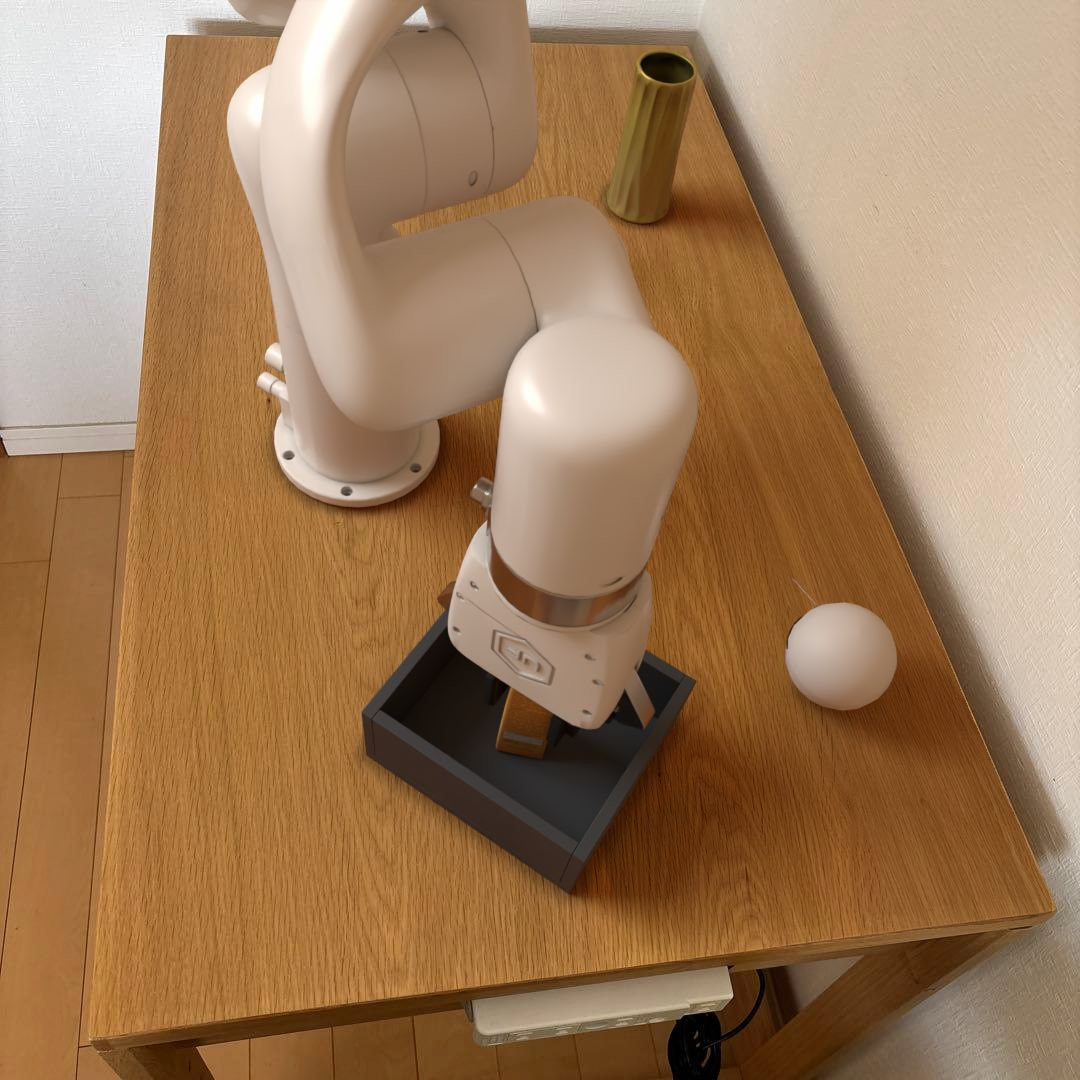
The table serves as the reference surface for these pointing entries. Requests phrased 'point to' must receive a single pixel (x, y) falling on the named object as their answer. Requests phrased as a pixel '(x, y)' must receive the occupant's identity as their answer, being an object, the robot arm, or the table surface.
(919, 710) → the table surface
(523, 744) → the supplement box
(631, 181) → the vase
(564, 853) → the bin
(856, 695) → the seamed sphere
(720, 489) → the table surface
